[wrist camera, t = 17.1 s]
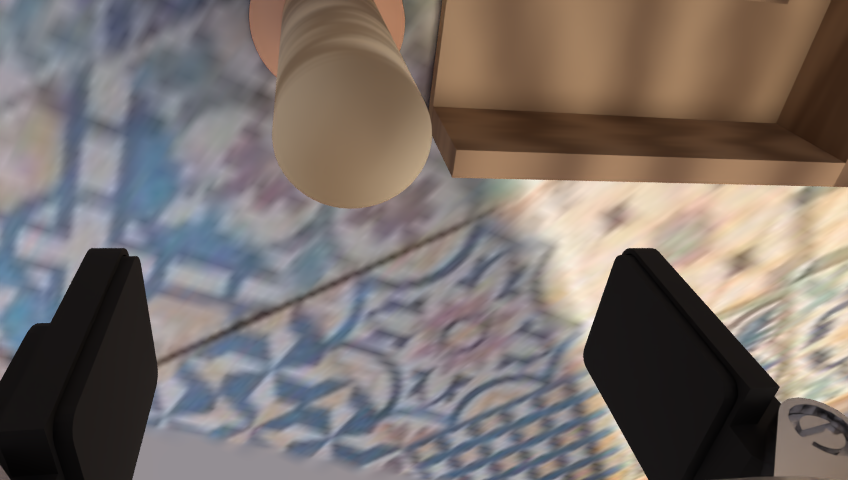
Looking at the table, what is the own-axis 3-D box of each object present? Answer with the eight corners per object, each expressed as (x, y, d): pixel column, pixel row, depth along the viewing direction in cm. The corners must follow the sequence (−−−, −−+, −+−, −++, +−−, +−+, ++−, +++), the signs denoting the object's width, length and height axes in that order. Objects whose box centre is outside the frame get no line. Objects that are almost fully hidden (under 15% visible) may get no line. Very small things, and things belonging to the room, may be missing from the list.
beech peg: (383, -24, 30) (441, 65, 18) (375, 74, 33) (422, 209, 21) (281, -34, 29) (270, 54, 17) (282, 68, 32) (273, 207, 20)
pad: (410, -54, 30) (412, -52, 30) (396, 98, 35) (397, 102, 34) (246, -72, 29) (245, -70, 28) (252, 91, 33) (251, 94, 32)
